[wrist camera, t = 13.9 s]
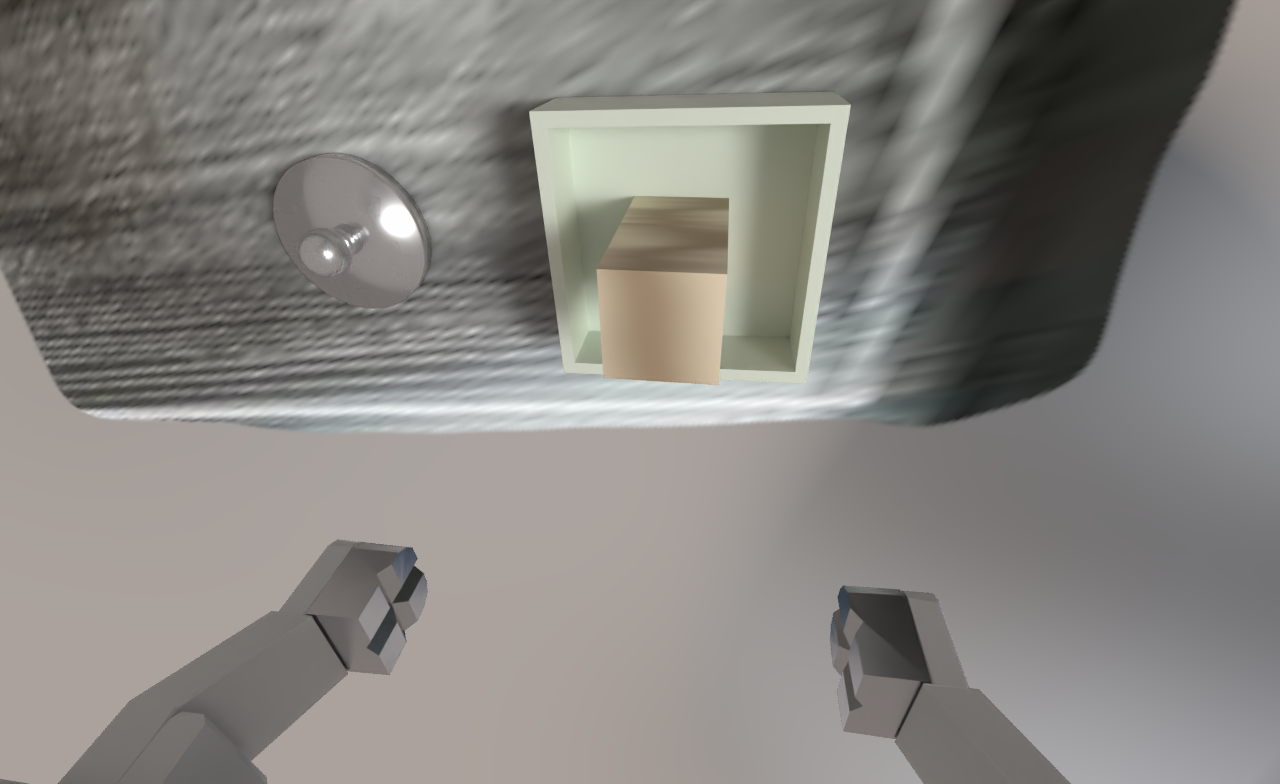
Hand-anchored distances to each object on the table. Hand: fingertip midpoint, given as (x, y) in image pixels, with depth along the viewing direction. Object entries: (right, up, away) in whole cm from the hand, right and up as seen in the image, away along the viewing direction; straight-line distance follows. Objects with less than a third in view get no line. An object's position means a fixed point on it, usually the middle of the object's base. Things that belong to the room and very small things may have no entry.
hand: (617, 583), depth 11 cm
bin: (+3, +12, +17) cm, 21 cm away
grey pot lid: (-15, +12, +19) cm, 27 cm away
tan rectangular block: (+2, +11, +17) cm, 20 cm away
